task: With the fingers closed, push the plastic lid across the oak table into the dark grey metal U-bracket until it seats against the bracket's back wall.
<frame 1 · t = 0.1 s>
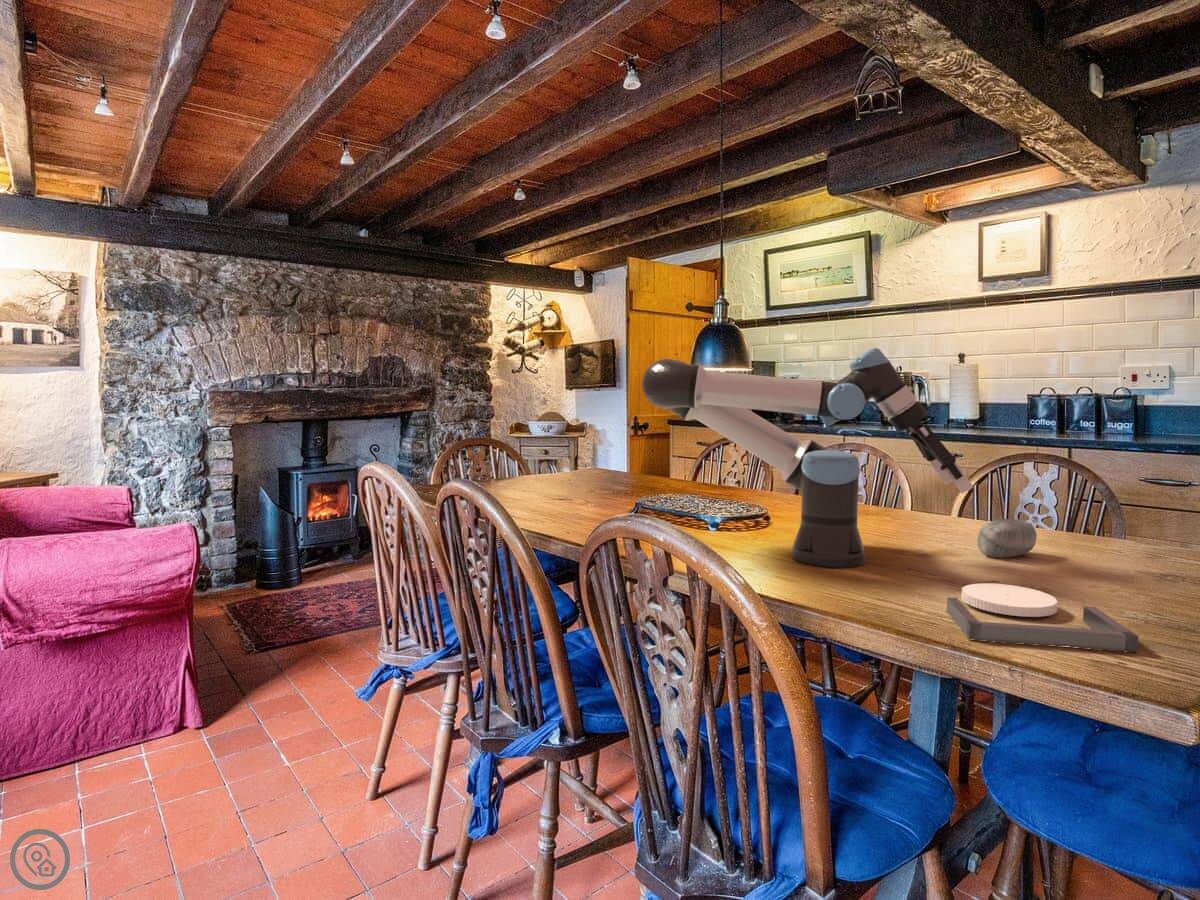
hand: (959, 486, 156), 15 cm above the table, fingers open, 13 cm apart
plastic lid: (1007, 610, 118), on the table
bracket: (1033, 630, 106), on the table
grey yarn skein: (1006, 556, 155), on the table
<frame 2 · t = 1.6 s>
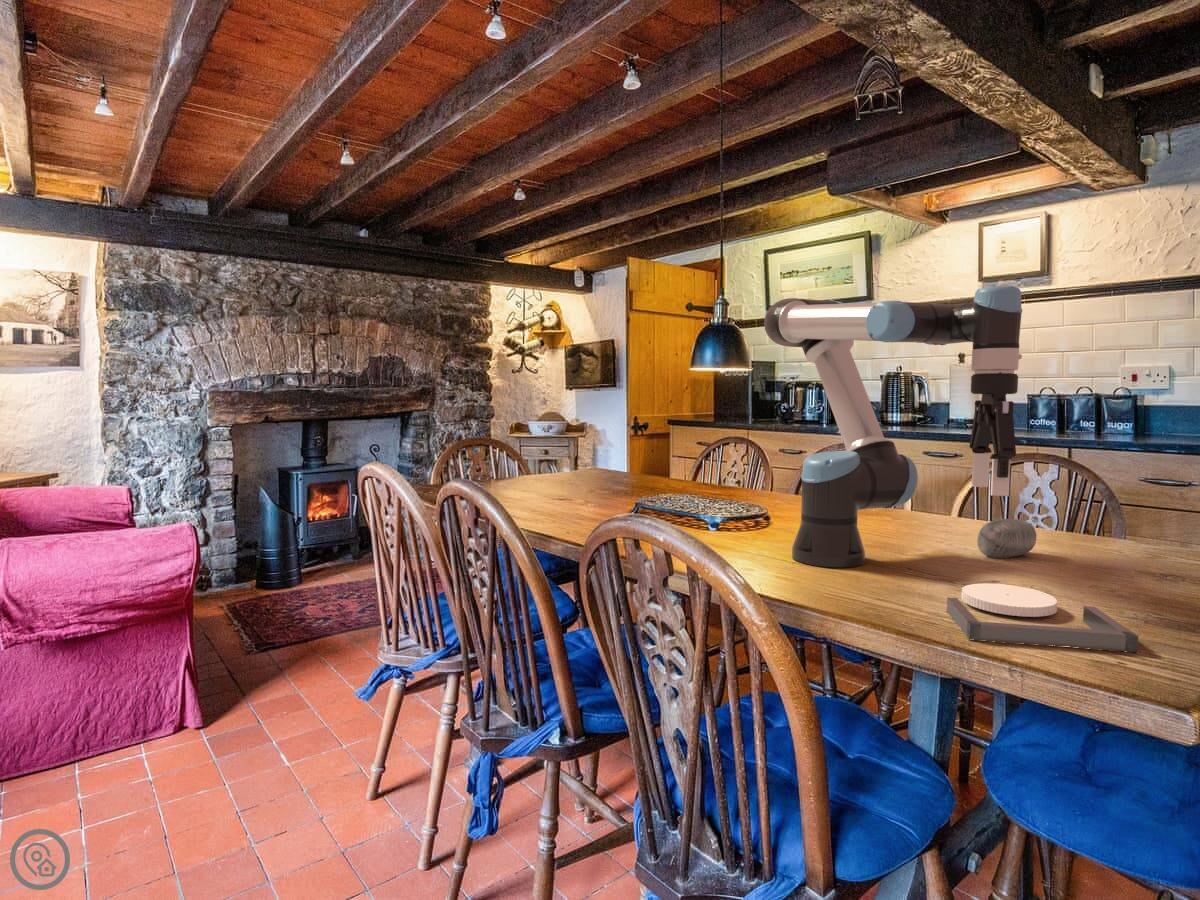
hand: (989, 491, 129), 18 cm above the table, fingers open, 11 cm apart
nothing on the table moved.
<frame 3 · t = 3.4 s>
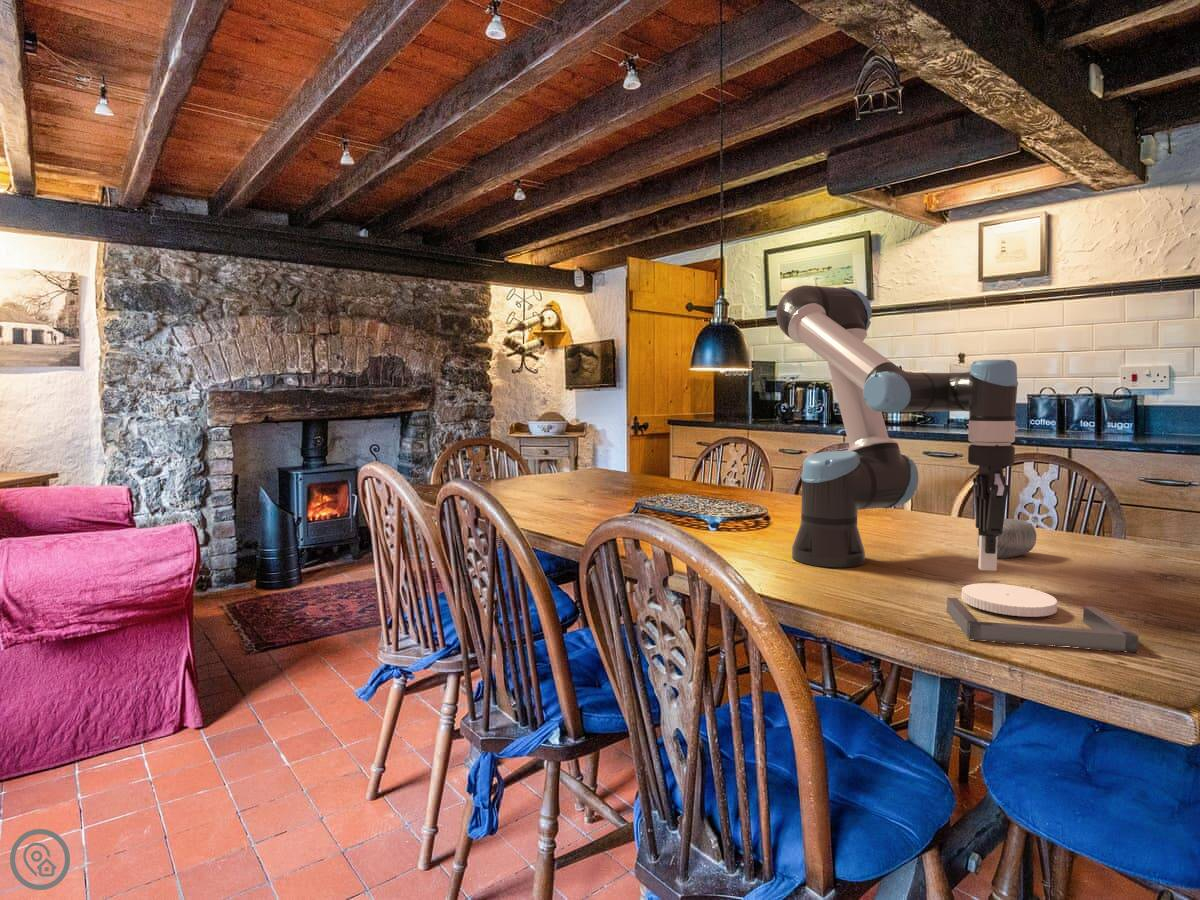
hand: (987, 569, 130), 3 cm above the table, fingers closed
nothing on the table moved.
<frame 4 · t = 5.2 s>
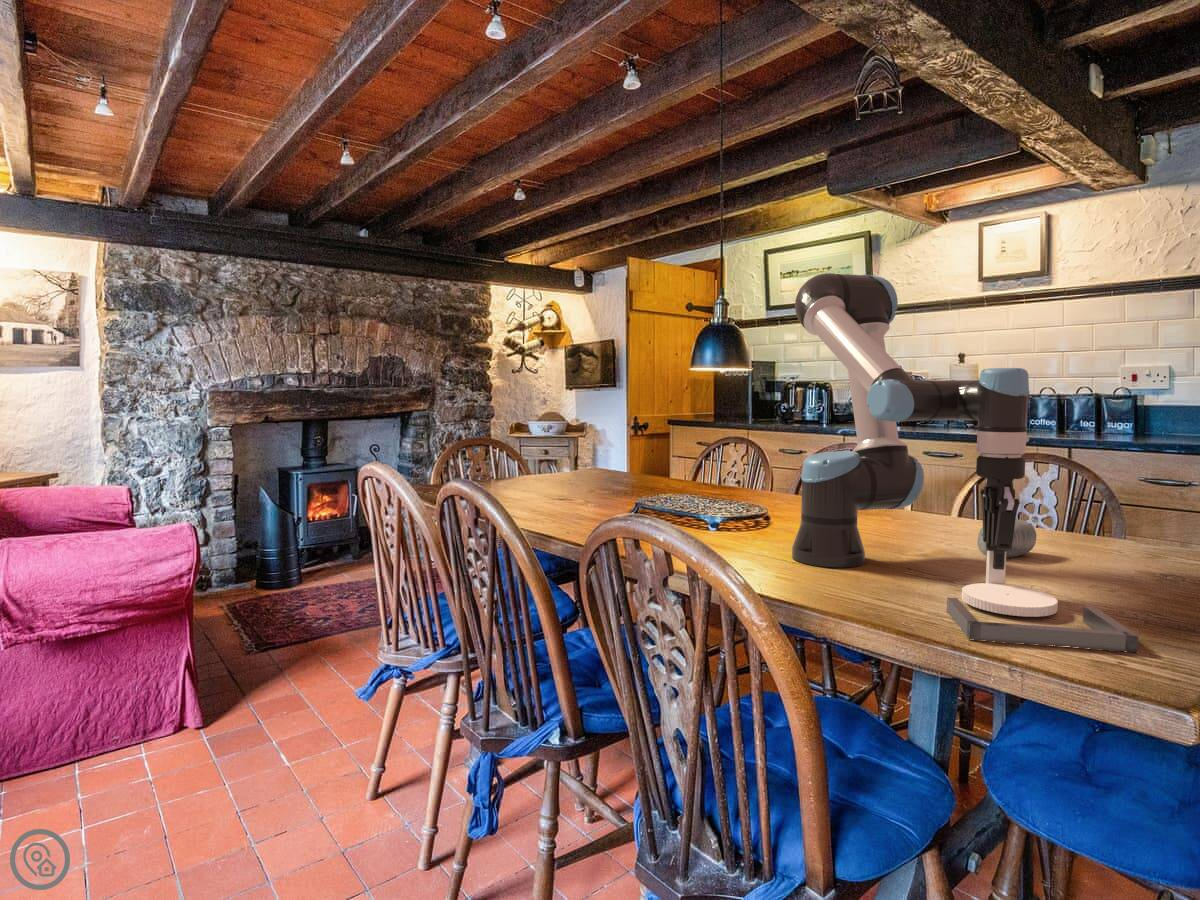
hand: (995, 585, 125), 2 cm above the table, fingers closed
plastic lid: (1007, 610, 118), on the table, touching gripper
everything else where it was.
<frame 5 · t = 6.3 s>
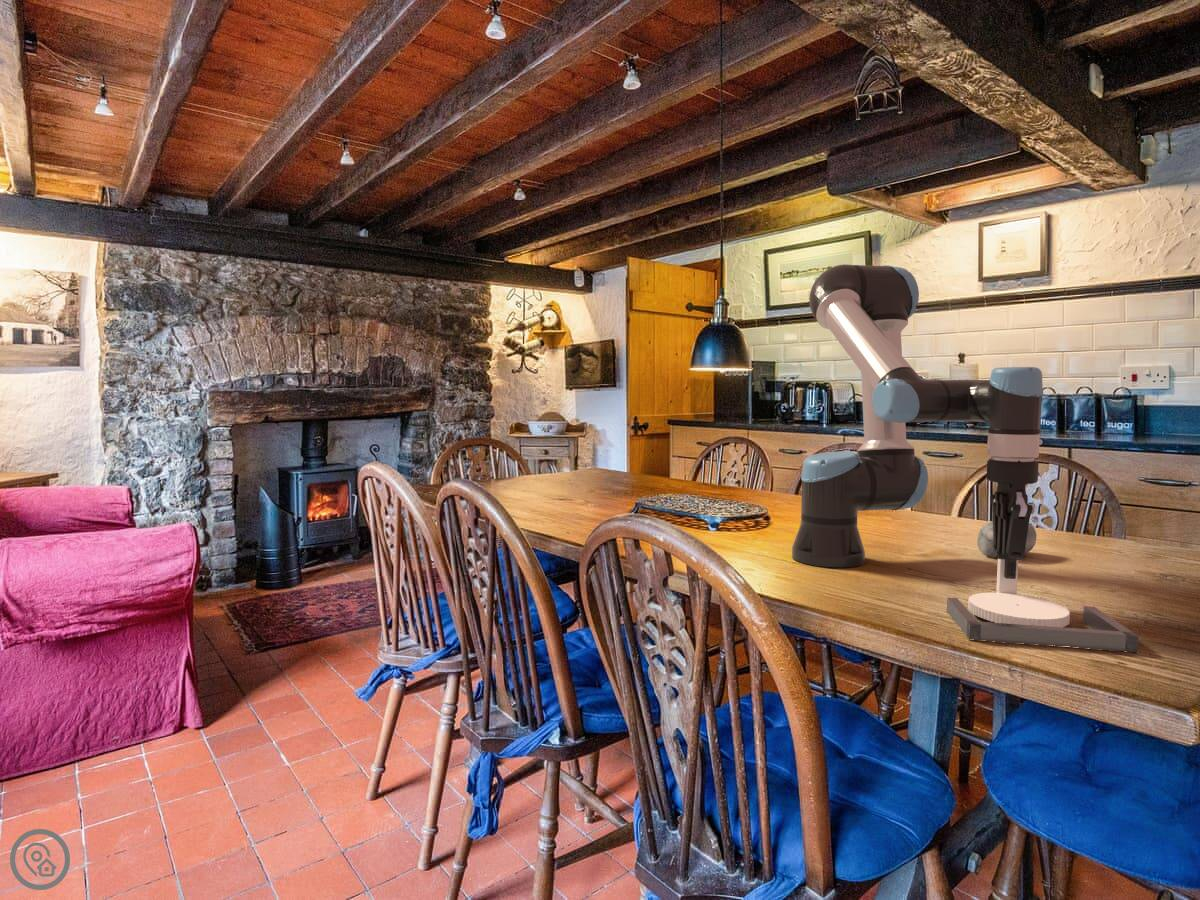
hand: (1006, 595, 119), 2 cm above the table, fingers closed
plastic lid: (1016, 621, 112), on the table
everything else where it was.
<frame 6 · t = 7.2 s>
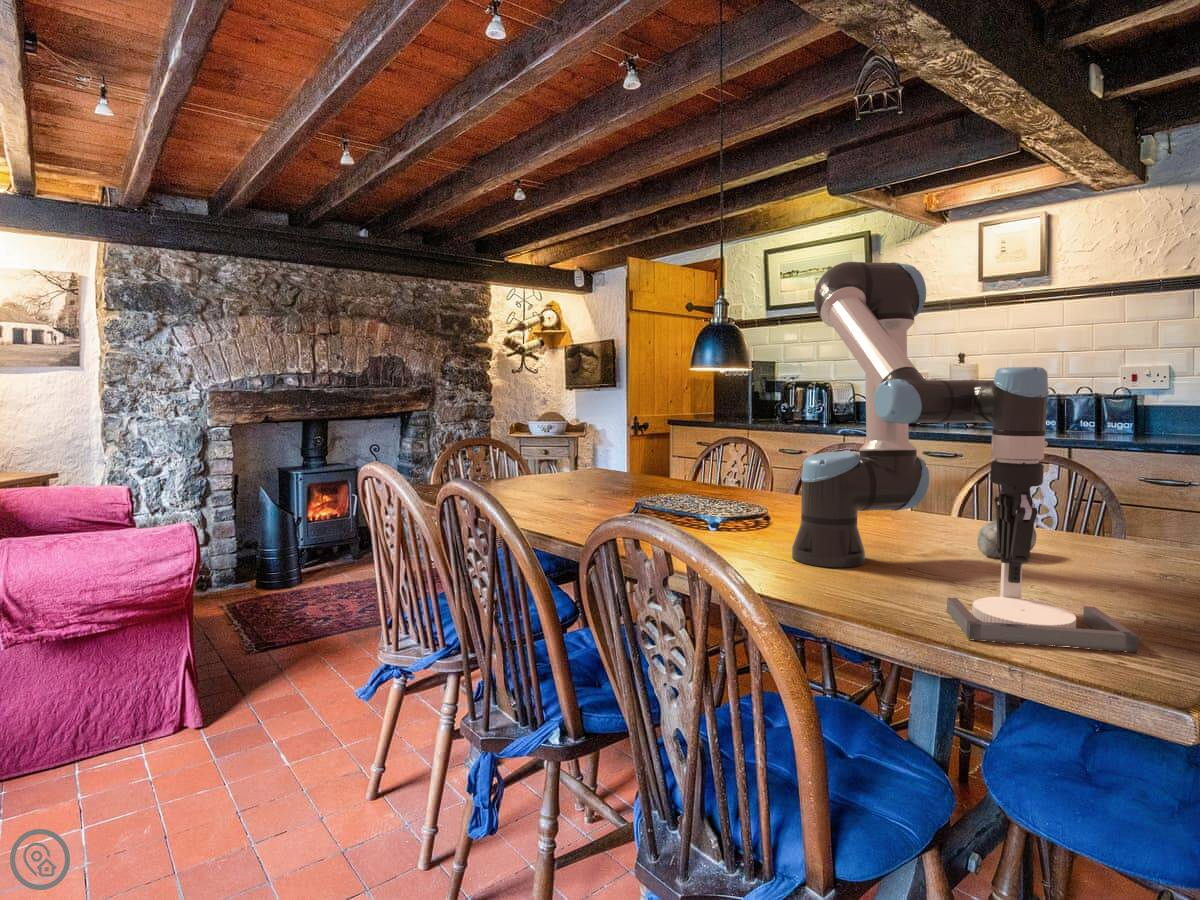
hand: (1010, 599, 117), 2 cm above the table, fingers closed
plastic lid: (1021, 627, 110), on the table
everything else where it was.
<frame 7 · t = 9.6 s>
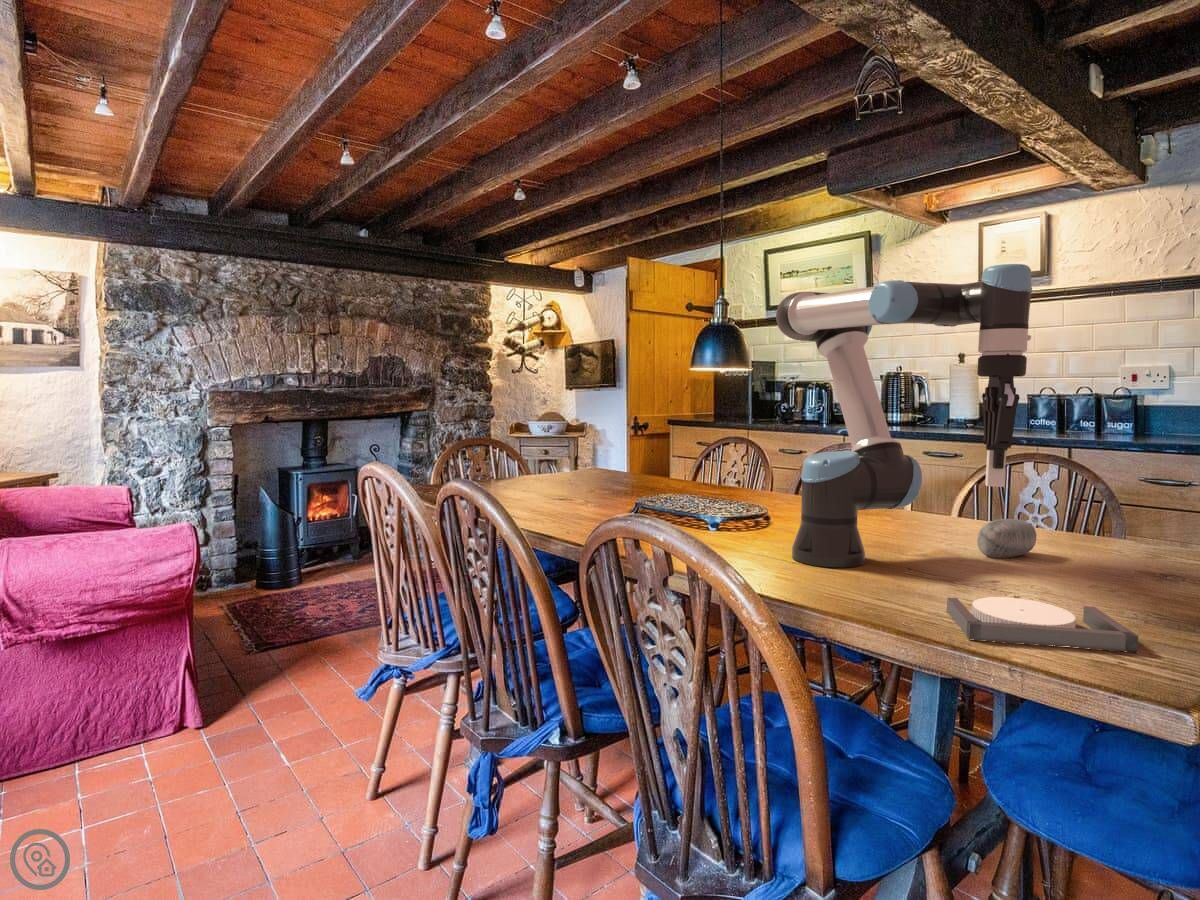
hand: (994, 485, 125), 20 cm above the table, fingers closed
nothing on the table moved.
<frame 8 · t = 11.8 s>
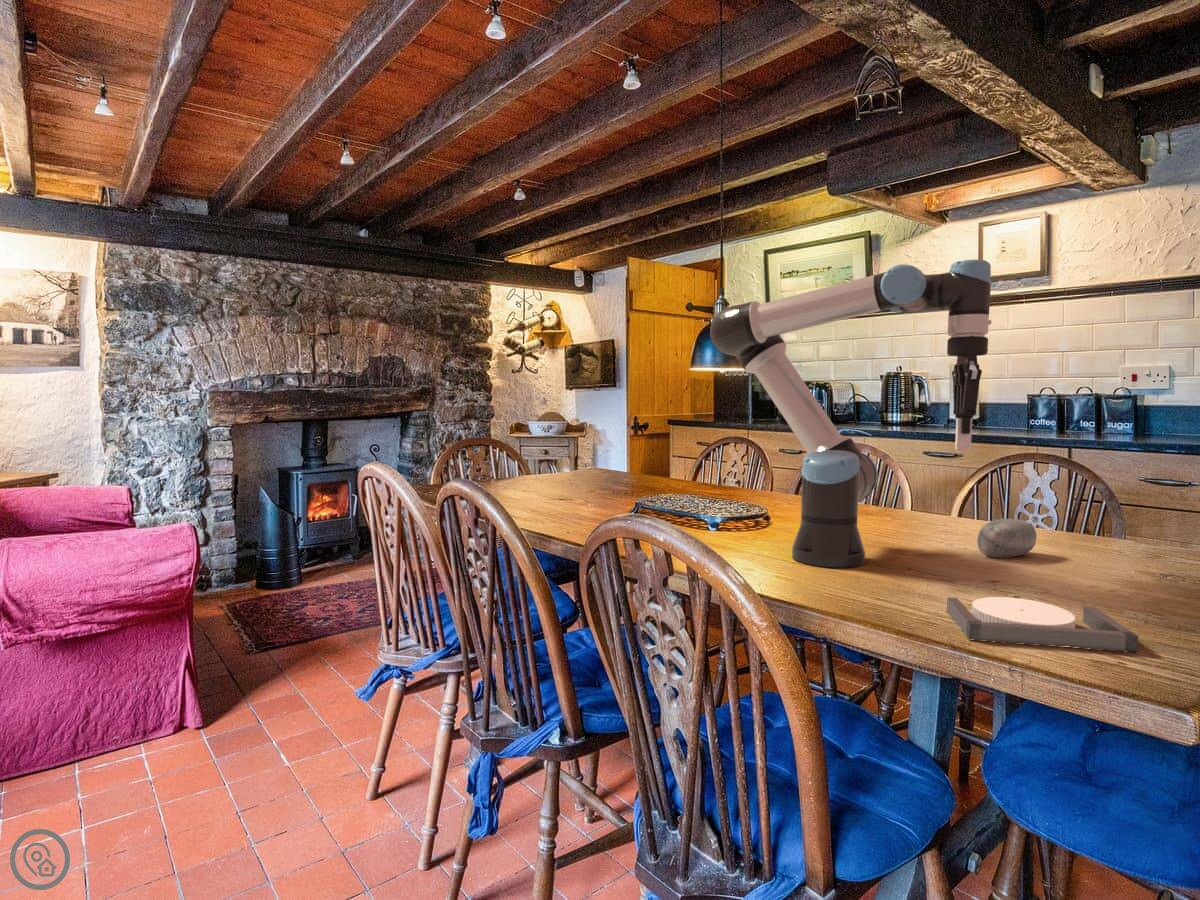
hand: (962, 448, 147), 24 cm above the table, fingers closed
nothing on the table moved.
at the end: plastic lid inside the target area on the bracket (1.1 cm from its centre), point -0.6 cm above the bracket's base; plastic lid moved 8.7 cm from its start; the gripper is holding nothing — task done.
